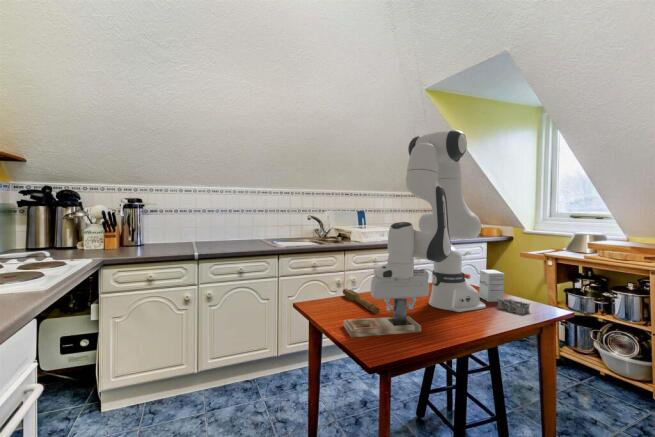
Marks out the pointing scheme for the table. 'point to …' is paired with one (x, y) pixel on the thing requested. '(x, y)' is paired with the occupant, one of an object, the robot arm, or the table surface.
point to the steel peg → (399, 311)
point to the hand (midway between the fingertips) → (399, 310)
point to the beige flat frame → (379, 326)
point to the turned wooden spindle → (360, 300)
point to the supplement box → (491, 285)
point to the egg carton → (514, 306)
